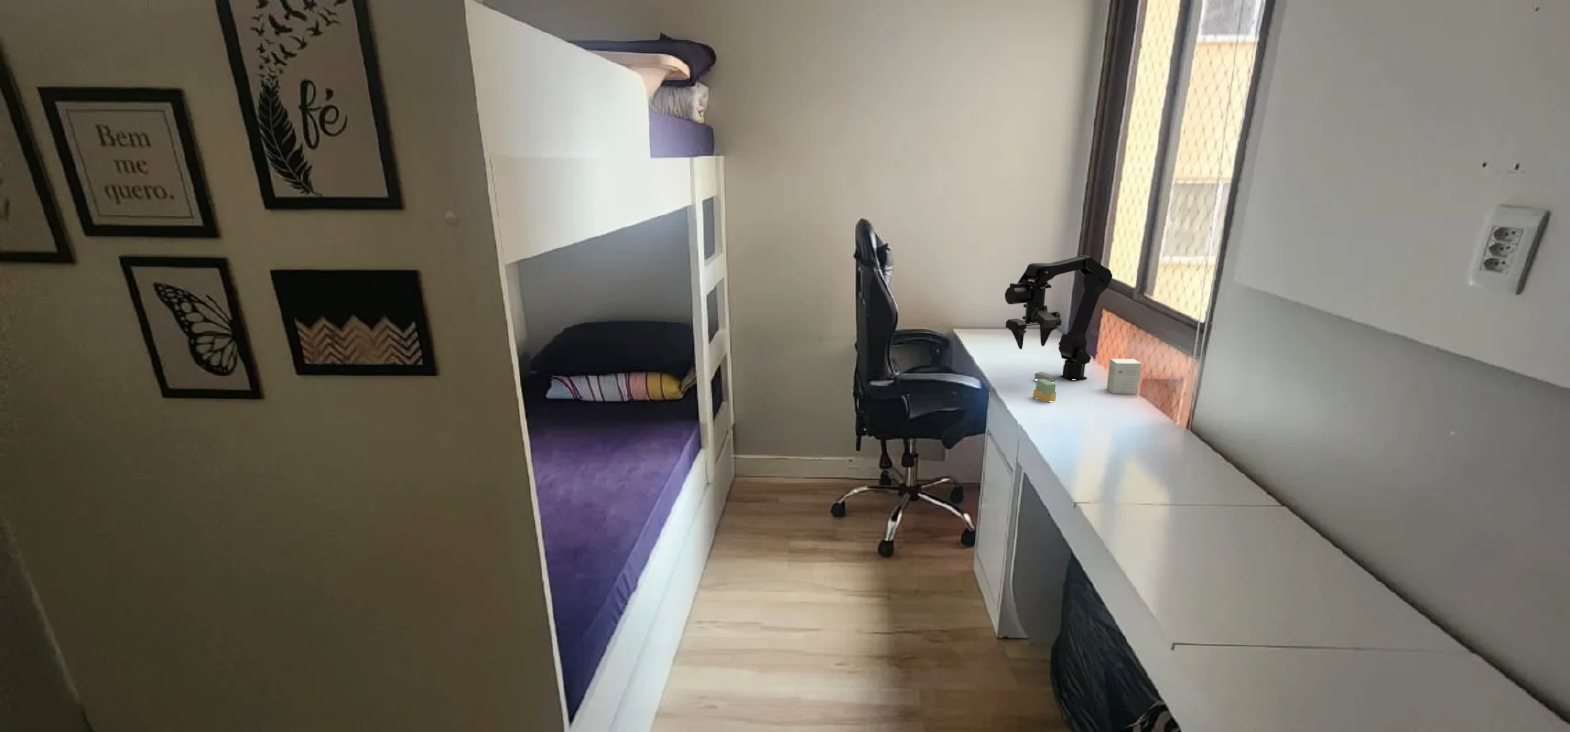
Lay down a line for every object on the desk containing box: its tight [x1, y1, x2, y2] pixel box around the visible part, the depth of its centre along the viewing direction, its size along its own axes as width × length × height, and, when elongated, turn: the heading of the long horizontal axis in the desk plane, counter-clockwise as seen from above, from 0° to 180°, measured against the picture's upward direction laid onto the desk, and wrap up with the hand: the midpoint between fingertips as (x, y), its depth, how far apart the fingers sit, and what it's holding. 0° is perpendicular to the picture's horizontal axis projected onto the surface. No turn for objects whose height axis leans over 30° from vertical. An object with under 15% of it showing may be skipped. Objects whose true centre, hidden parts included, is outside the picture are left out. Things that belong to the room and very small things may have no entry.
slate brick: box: [1034, 371, 1056, 383], centre depth 233 cm, size 6×3×3 cm, turn 28°
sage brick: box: [1035, 379, 1057, 394], centre depth 215 cm, size 6×3×3 cm, turn 10°
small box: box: [1106, 358, 1142, 395], centre depth 222 cm, size 8×6×10 cm
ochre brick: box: [1032, 388, 1057, 402], centre depth 216 cm, size 6×3×3 cm, turn 40°
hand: (1031, 347), depth 229 cm, fingers open, 9 cm apart
